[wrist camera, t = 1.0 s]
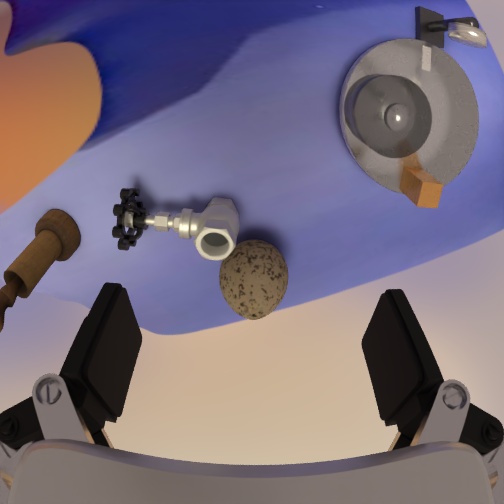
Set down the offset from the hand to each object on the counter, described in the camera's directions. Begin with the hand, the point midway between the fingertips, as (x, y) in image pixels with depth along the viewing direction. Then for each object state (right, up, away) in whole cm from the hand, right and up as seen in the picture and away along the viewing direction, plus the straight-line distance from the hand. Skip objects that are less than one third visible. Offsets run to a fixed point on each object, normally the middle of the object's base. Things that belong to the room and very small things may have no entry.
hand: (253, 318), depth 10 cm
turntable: (+16, +16, +13) cm, 26 cm away
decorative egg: (0, +2, +24) cm, 24 cm away
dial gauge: (+18, +25, +8) cm, 32 cm away
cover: (+11, +15, +12) cm, 22 cm away
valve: (-7, +7, +21) cm, 23 cm away
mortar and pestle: (-25, +5, +23) cm, 34 cm away
